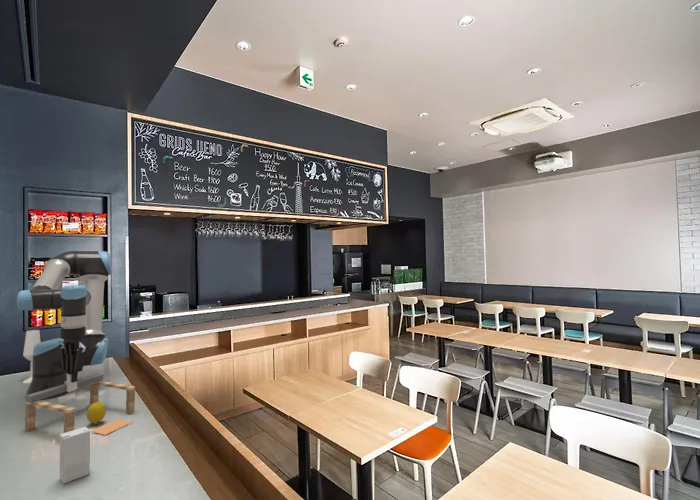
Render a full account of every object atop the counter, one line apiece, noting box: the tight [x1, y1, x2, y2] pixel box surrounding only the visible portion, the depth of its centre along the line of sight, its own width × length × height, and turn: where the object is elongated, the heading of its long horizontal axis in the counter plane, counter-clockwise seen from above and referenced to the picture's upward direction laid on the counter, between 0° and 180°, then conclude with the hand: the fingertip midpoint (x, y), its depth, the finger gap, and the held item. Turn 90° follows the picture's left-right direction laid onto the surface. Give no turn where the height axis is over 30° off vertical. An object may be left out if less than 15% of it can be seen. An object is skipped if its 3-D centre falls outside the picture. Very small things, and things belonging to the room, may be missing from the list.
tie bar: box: [25, 373, 104, 403], centre depth 136 cm, size 3×25×3 cm, turn 160°
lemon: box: [86, 400, 107, 425], centre depth 130 cm, size 6×6×8 cm
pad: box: [90, 418, 133, 436], centre depth 127 cm, size 7×10×1 cm
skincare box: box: [59, 426, 91, 484], centre depth 99 cm, size 6×4×12 cm
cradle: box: [24, 380, 136, 433], centre depth 133 cm, size 22×24×10 cm
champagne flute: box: [22, 329, 42, 384], centre depth 176 cm, size 7×7×24 cm
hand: (71, 390), depth 135 cm, fingers closed
